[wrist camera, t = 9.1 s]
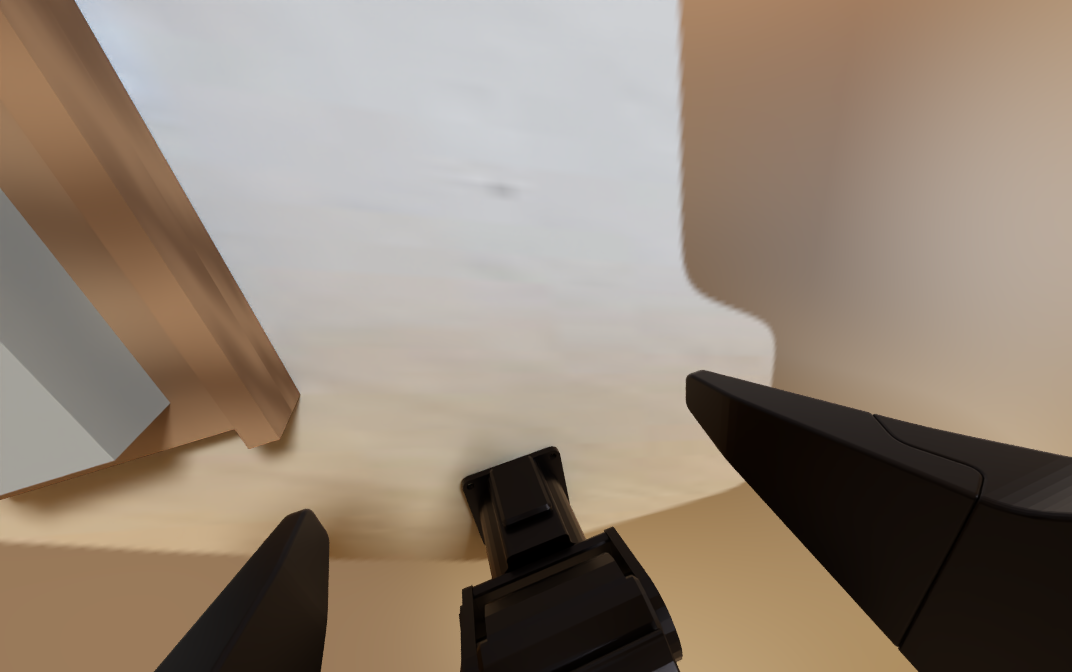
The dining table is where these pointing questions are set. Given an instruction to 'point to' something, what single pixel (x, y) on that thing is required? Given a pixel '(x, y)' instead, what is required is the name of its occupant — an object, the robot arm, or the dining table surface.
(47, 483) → the board
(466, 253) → the dining table surface
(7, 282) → the grey notched panel
